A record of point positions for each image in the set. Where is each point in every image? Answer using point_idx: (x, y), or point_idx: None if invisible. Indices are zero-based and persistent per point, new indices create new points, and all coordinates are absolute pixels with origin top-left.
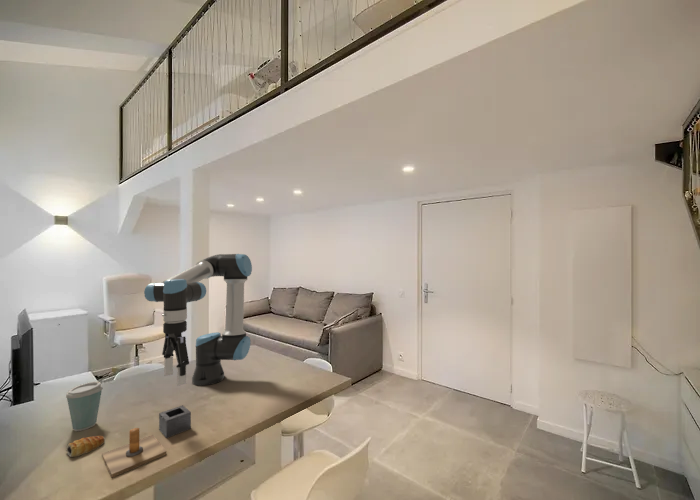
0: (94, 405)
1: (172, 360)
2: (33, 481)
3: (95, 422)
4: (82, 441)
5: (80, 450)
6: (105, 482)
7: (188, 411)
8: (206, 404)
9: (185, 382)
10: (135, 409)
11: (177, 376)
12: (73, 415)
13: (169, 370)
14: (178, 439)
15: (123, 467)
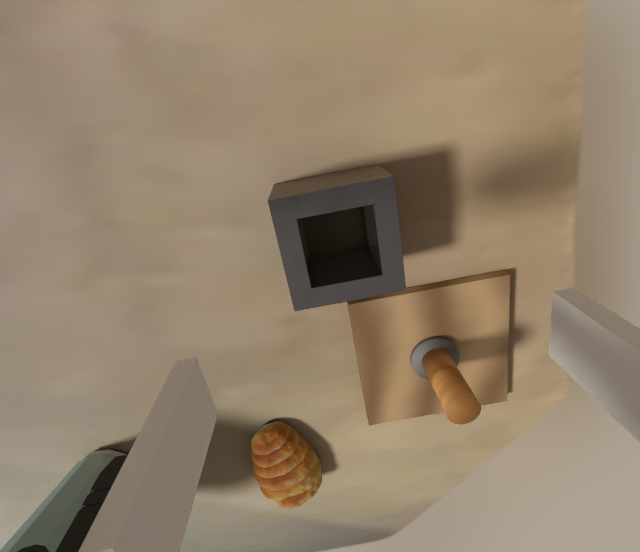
0: None
1: (139, 497)
2: (375, 513)
3: (112, 456)
4: (295, 485)
5: (319, 472)
6: (510, 403)
7: (379, 186)
8: (127, 23)
9: (581, 299)
10: (23, 346)
11: (619, 413)
12: None
13: (194, 418)
14: (431, 222)
15: (498, 379)
